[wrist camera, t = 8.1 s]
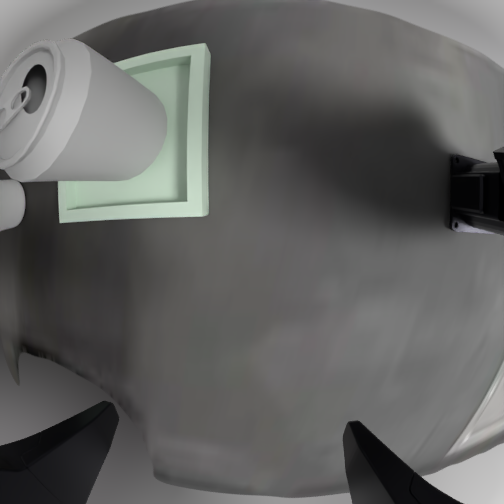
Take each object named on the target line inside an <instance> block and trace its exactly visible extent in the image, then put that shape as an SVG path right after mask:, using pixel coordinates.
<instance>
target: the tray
mask: <svg viewBox="0 0 504 504" xmlns="http://www.w3.org/2000/svg"><path fill="white" fill-rule="evenodd" d="M210 63H211V54H210V52H209V50H208V47H207V45H206V43H202V44H195V45H189V46H183V47H177V48H172V49H167V50H162V51H157V52H153V53H149V54H144V55H141V56H137V57H133V58H129V59H126V60H123V61H119V62H116V63H113V64H115V65H116V66H118V67H119V68H120V69H122V70H123V71H124V72H126V73H127V74H129V75H130V76H131V77H133V78H134V79H135V80H137V81H138V82H139V83H141V84H142V85H143V86H145V87H146V88H147V89H149V90H150V91H151V92H152V93H154V94H155V95H156V96H157V97H158V98H159V100H160V101H161V102H162V104H163V105H164V108H165V112H166V115H167V135H166V138H165V141H164V144H163V147H162V150H161V151H160V153H159V154H158V156H157V157H156V159H155V160H154V162H153V163H152V164H151V165H150V166H149V167H148V168H147V169H146V170H145V171H143V172H142V173H141V174H139V175H137V176H135V177H133V178H131V179H129V180H123V181H58V202H59V220H60V223H67V222H81V221H97V220H115V219H136V218H162V217H200V216H205V215H208V214H209V191H208V129H209V88H210Z"/></svg>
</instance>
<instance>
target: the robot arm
mask: <svg viewBox="0 0 504 504" xmlns="http://www.w3.org/2000/svg"><path fill="white" fill-rule="evenodd" d="M493 153H494V157H495V159H497V162H496V163H486V162H483V161H479V160H476V159H472V158H468V157H465V156H461V155H452V156H451V210H450V229H451V230H453V231H459V232H474V233H487V234H495V233H497V234H500V235H504V147H502V148H500V149H498V150H495V151H493ZM455 158H456V160H457V162H455ZM455 223H456V226H455V227H454V224H455ZM118 422H119V416H118V413H117V411H116V409H115V406H114V404H113V403H111V402H107V401H102V402H100V403H98V404H96V405H94V406H92V407H91V408H89V409H87V410H85V411H83V412H81V413H79V414H77V415H75V416H73V417H71V418H69V419H67V420H64V421H62V422H60V423H59V424H56V425H54V426H52V427H50V428H48V429H46V430H43V431H41V432H39V433H37V434H34V435H32V436H30V437H27V438H24V439H21V440H18V441H15V442H12V443H9V444H5V445H1V446H0V504H86V502H87V500H88V497H89V495H90V493H91V490H92V488H93V485H94V483H95V481H96V479H97V476H98V474H99V472H100V469H101V467H102V465H103V463H104V460H105V458H106V456H107V454H108V452H109V449H110V447H111V444H112V440H113V437H114V434H115V431H116V428H117V425H118ZM343 446H344V457H345V469H346V476H347V480H348V485H349V490H350V494H351V499H352V504H463V503H460V502H459V501H457V500H455V499H453V498H452V497H450V496H448V495H447V494H445V493H443V492H442V491H440V490H438V489H437V488H435V487H434V486H432V485H431V484H429V483H428V482H427V481H426V480H424V479H423V478H422V477H421V476H420V475H418V474H417V473H416V472H414V470H412V469H411V468H410V467H409V466H408V465H407V464H406V463H404V462H403V461H402V460H401V459H400V458H399V457H398V456H397V455H396V454H394V453H393V452H392V451H391V450H390V449H389V448H388V447H387V446H386V445H385V444H383V443H382V442H381V441H380V440H379V439H378V438H377V437H376V436H375V435H374V434H373V433H372V432H371V431H369V430H368V429H367V428H366V427H365V426H364V425H363V424H362V423H361V422H360V421H349V422H348V423H347V425H346V428H345V431H344V434H343Z"/></svg>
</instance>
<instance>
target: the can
mask: <svg viewBox="0 0 504 504" xmlns="http://www.w3.org/2000/svg"><path fill="white" fill-rule="evenodd" d="M166 135H167V115H166V112H165V108H164V105H163V104H162V102H161V101H160V100H159V98H158V97H157V96H156V95H155V94H154V93H152V92H151V91H150V90H149V89H147V88H146V87H145V86H143V85H142V84H141V83H139V82H138V81H137V80H135V79H134V78H133V77H131V76H130V75H129V74H127V73H126V72H124V71H123V70H122V69H120V68H119V67H118V66H116V65H115V64H113V63H112V62H110V61H109V60H108V59H106V58H105V57H103V56H102V55H100V54H99V53H98V52H96V51H95V50H93V49H92V48H90V47H89V46H87V45H86V44H84V43H83V42H80V41H77V40H74V39H72V38H70V39H64V40H59V41H56V42H52V41H50V40H43V41H39V42H36V43H34V44H33V45H31V46H30V47H28V48H26V49H25V50H24V51H22V52H21V54H20V55H18V56H17V57H16V59H15V60H14V61H13V62H12V63H11V64H10V65H9V67H8V68H7V70H6V71H5V73H4V74H3V76H2V77H1V79H0V169H4V170H5V171H6V172H7V174H8V175H9V176H10V178H12V179H15V180H17V181H20V182H40V181H123V180H129V179H131V178H133V177H135V176H137V175H139V174H141V173H142V172H143V171H145V170H146V169H147V168H148V167H149V166H150V165H151V164H152V163H153V162H154V160H155V159H156V157H157V156H158V154H159V153H160V151H161V150H162V147H163V144H164V141H165V138H166Z"/></svg>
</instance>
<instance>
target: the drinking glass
mask: <svg viewBox="0 0 504 504" xmlns="http://www.w3.org/2000/svg"><path fill="white" fill-rule="evenodd" d="M24 212H25V194H24V190H23V187H22V185H21V184H20V183H19V182H18V181H17V180H14V179H7V180H0V231H2V230H6V229H10V228H14V227H16V226H17V225H19V223H20V222H21V220H22V218H23V216H24Z"/></svg>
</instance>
